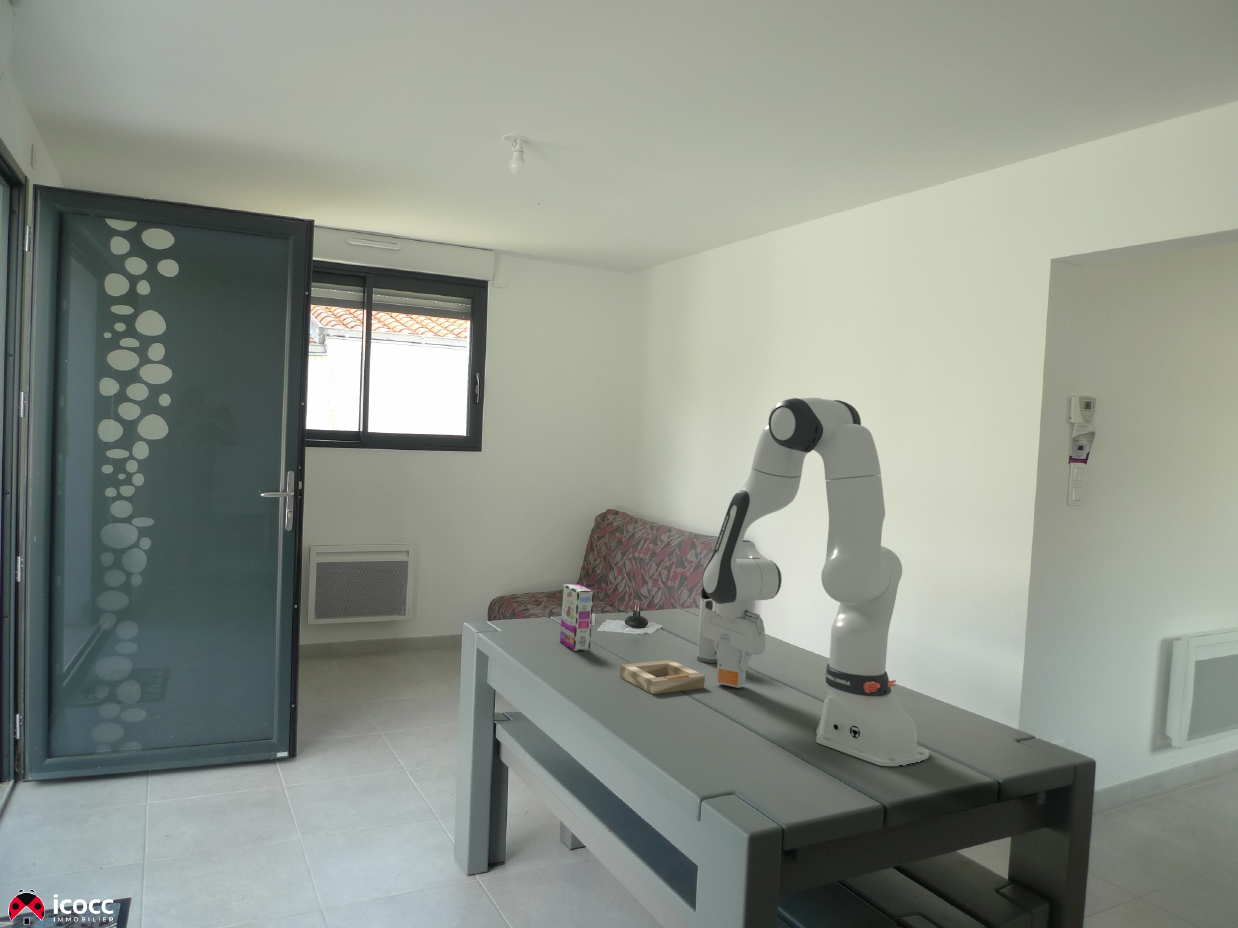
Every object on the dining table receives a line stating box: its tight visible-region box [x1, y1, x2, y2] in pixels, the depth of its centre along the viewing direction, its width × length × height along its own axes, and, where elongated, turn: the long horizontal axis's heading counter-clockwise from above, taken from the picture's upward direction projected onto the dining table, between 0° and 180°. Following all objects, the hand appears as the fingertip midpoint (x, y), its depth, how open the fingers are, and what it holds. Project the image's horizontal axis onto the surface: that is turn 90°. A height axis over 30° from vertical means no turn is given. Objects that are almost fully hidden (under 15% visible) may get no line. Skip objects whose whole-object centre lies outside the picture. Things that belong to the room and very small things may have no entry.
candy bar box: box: [559, 583, 595, 652], centre depth 234 cm, size 11×5×16 cm, turn 25°
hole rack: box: [619, 659, 706, 695], centre depth 205 cm, size 15×15×3 cm
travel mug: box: [696, 587, 718, 664], centre depth 228 cm, size 6×7×20 cm
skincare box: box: [715, 634, 747, 689], centre depth 205 cm, size 6×4×12 cm
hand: (731, 664), depth 205 cm, fingers closed on skincare box, 7 cm apart
